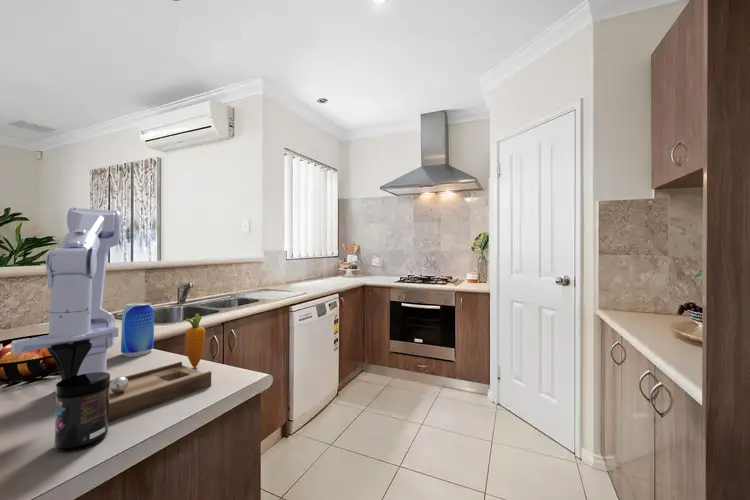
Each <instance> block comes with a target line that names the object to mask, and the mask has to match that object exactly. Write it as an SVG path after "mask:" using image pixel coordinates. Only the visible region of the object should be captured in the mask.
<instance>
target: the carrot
mask: <svg viewBox="0 0 750 500" xmlns="http://www.w3.org/2000/svg"><path fill="white" fill-rule="evenodd" d="M194 316H195V317H194ZM194 316H193V317H191V318H192V320H191V319H190V318H188V317H187V318H186V319H185V321H186V322H188V323H190V324H191V327H189V328H187V329H186V331H185V350H186V355H187V359H188V361H189V363H190V364H191V366H192V368H194V367H195V368H197V366H199V363H200V361H201V359H202V357H203V354H204V348H205V345H206V328H205V327H203V326H199V324H200V322H201V320H202V316H200V313H195V315H194Z"/></svg>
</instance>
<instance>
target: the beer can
mask: <svg viewBox="0 0 750 500" xmlns="http://www.w3.org/2000/svg"><path fill="white" fill-rule="evenodd" d="M120 336H121V339H120V353H122V355H123V356H124V357H132V358H133V357H139V356H144V355H148V354H150V353H151V352H152V350H153V349H154V343H155V341H154V338H155V337H154V336H155V308H154V307H153V306H152V302H133V303H132V302H131V303H128V304H127V303H126V305H125V308H124V309H123V310H122V313H121V335H120Z"/></svg>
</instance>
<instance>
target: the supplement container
mask: <svg viewBox="0 0 750 500" xmlns="http://www.w3.org/2000/svg"><path fill="white" fill-rule="evenodd" d="M110 380H111V374H110V373H109V372H107V371H106V372H96V373H87V374H82V375H77V376H73V377H70V378H67V379H64V380H62V381H61V380H60V381H58V382H56V384H55V389H56V391H55V412H54V413H55V416H54V417H55V421H54V440H53V441H54V443H53V444H54V445H53V446H54V449H55V450H56V451H58V452H61V453H71V452H72V453H73V452H77V451H81V450H85V449H87V448H89V447H92V446H94V445H96V444H98V443H99V442H101V441H102V440H103V439H104V438H105V437H106V436H107V435H108V432H109V422H108V421H109V386H110Z"/></svg>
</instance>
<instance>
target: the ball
mask: <svg viewBox="0 0 750 500" xmlns="http://www.w3.org/2000/svg"><path fill="white" fill-rule="evenodd" d="M112 380H113V381H112V382H111V383H110V386H109V388H110V390H111V391H112V392H113V393H121V392H123V391H124V390H126V389H127V387H128V385H129V381H128V379H127V378H125V376H117V377H115V378H114V379H112Z"/></svg>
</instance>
